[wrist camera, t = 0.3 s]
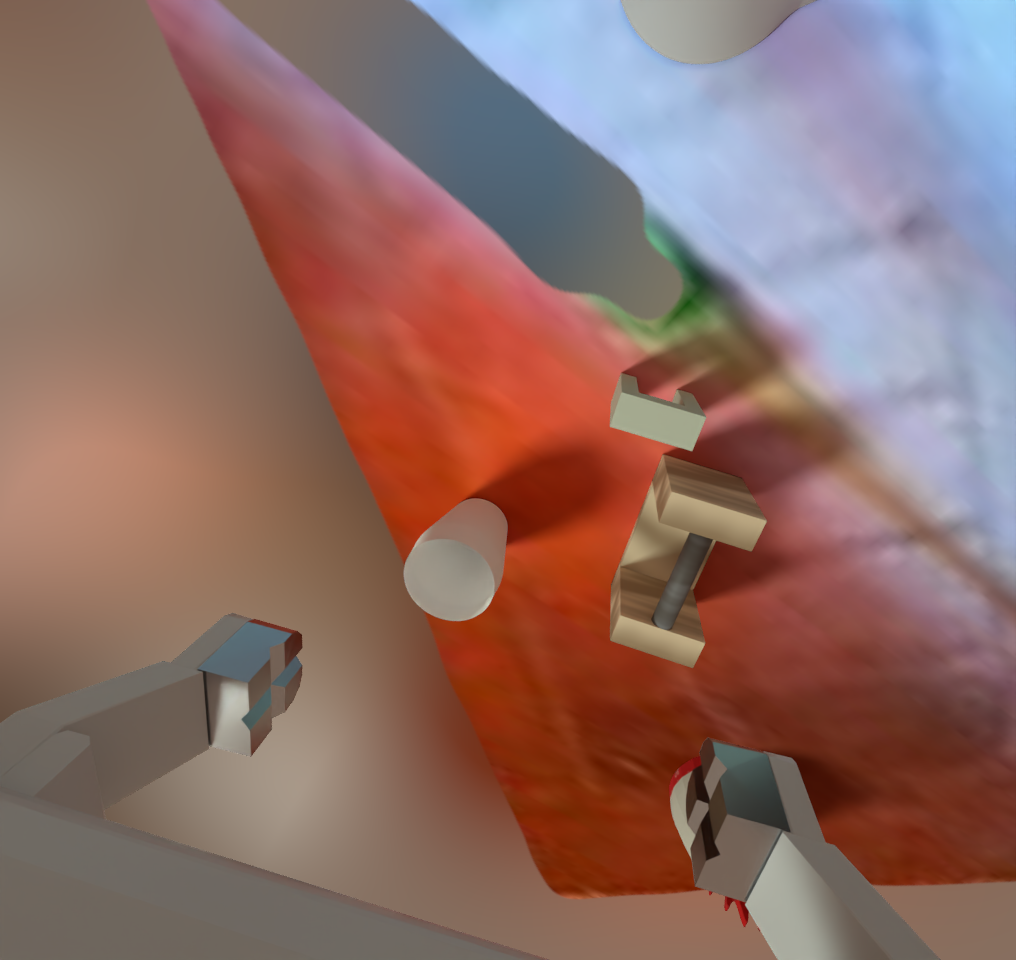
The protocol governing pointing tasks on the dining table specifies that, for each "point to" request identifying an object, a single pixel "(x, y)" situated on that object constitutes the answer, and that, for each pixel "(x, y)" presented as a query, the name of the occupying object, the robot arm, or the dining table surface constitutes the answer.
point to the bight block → (656, 415)
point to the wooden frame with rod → (677, 556)
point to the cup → (459, 561)
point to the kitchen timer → (679, 815)
